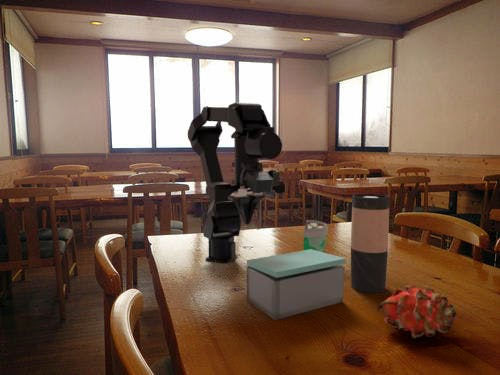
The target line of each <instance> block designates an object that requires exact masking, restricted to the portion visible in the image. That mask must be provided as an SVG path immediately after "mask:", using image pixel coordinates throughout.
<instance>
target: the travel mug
mask: <svg viewBox="0 0 500 375" xmlns="http://www.w3.org/2000/svg"><path fill="white" fill-rule="evenodd" d="M351 202H352V203H351V204H352V205H351V229H350V230H351V232H350V286H351V288H352V289H353V290H354V291H355V290H356V291H357V292H361V293H364V294H365V293H367V294H378V293H379V294H380V293H382V292H384V291H385V290H386V281H387V269H388V254H389V251H388V250H389V234H390V233H389V228H390V195H389V194H388V195H387V194H382V193H377V194H376V195H372V196H370V195H367V194H366V193H354V194H352V200H351Z"/></svg>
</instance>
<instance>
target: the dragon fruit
mask: <svg viewBox="0 0 500 375" xmlns="http://www.w3.org/2000/svg"><path fill="white" fill-rule="evenodd" d="M423 288H425V289H423ZM380 311H381V312H382V313H383V314H384V315H386V317H384V322H385V323H386V324H388V325H389V326H390V327H391V328H393V329H394V328H395V329H397V328H398V330H402V331H405V332H411V337H412V338H413V339H417V338H420V337H423V336H424V335H425V336H426V337H427V338H428V337H429V338H430V337H434V335H436V332H437V331H438V332H439V333H442V334H443V333H444V334H446V333H449V330H450V329H451V328H452V326H453V323H454V320H455V318H456V316H457V315H458V313H457V311H455V307H454V305H453V304H452V303H451V302H450V301H449V300H448V297H446V296H445V295H442V294H440V293H436V291H435V290H434V289H432V288H431V287H430V286H428V285H423V287H416V286H415V285H413V284H412V285H411V284H410V285H405V287H404V288H401V289H399V288H398V289H395V291H394V293H393V294H392V295H390V297H388V298H386V300H384V301H382V302H380V304H379V305H378V306H377V307H376V312H380ZM387 315H388V316H387Z"/></svg>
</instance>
